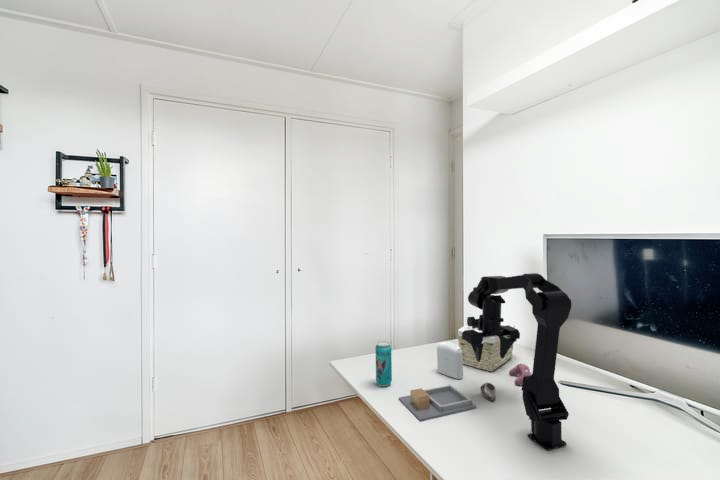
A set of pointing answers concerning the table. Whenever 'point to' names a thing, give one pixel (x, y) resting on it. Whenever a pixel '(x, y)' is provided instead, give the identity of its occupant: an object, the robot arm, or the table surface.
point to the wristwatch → (490, 389)
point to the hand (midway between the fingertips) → (490, 359)
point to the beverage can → (383, 363)
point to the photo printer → (450, 360)
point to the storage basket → (484, 351)
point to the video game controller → (520, 373)
